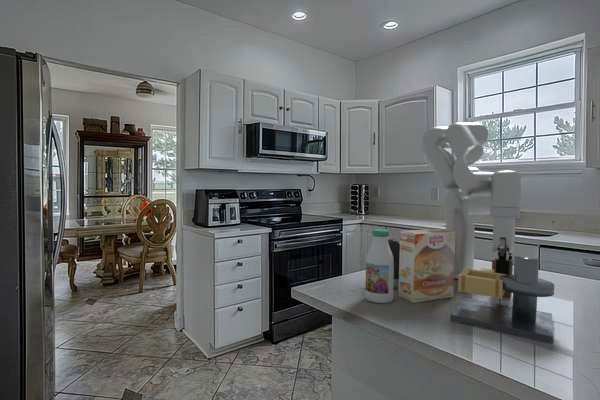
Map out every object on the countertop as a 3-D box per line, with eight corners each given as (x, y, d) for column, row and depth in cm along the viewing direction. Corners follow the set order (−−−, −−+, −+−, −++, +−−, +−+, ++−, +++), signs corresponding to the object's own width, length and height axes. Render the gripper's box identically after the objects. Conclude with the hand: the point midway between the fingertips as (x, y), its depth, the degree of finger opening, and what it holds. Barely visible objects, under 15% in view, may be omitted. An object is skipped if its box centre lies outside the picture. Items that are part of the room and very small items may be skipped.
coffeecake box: (413, 303, 95) (415, 233, 94) (397, 295, 102) (398, 230, 101) (454, 297, 101) (456, 231, 100) (436, 290, 107) (438, 228, 106)
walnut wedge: (490, 296, 102) (492, 259, 102) (492, 292, 105) (493, 257, 105) (510, 299, 99) (512, 262, 99) (511, 296, 102) (513, 259, 102)
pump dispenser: (396, 292, 104) (397, 243, 103) (368, 285, 112) (369, 238, 111) (414, 286, 111) (415, 239, 110) (386, 279, 119) (388, 235, 118)
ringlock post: (450, 320, 83) (452, 255, 82) (463, 302, 96) (465, 245, 96) (552, 343, 72) (556, 268, 71) (551, 319, 85) (554, 255, 84)
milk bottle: (375, 293, 104) (376, 227, 103) (398, 299, 98) (399, 230, 97) (359, 299, 98) (361, 229, 97) (383, 306, 93) (385, 232, 92)
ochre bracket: (458, 291, 86) (458, 275, 85) (468, 278, 97) (469, 264, 97) (502, 298, 80) (502, 281, 80) (507, 284, 92) (508, 269, 92)
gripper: (494, 211, 110) (493, 265, 110) (486, 214, 96) (485, 275, 96) (521, 212, 106) (521, 268, 106) (518, 215, 92) (517, 279, 92)
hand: (504, 271), depth 101 cm, fingers open, 9 cm apart
